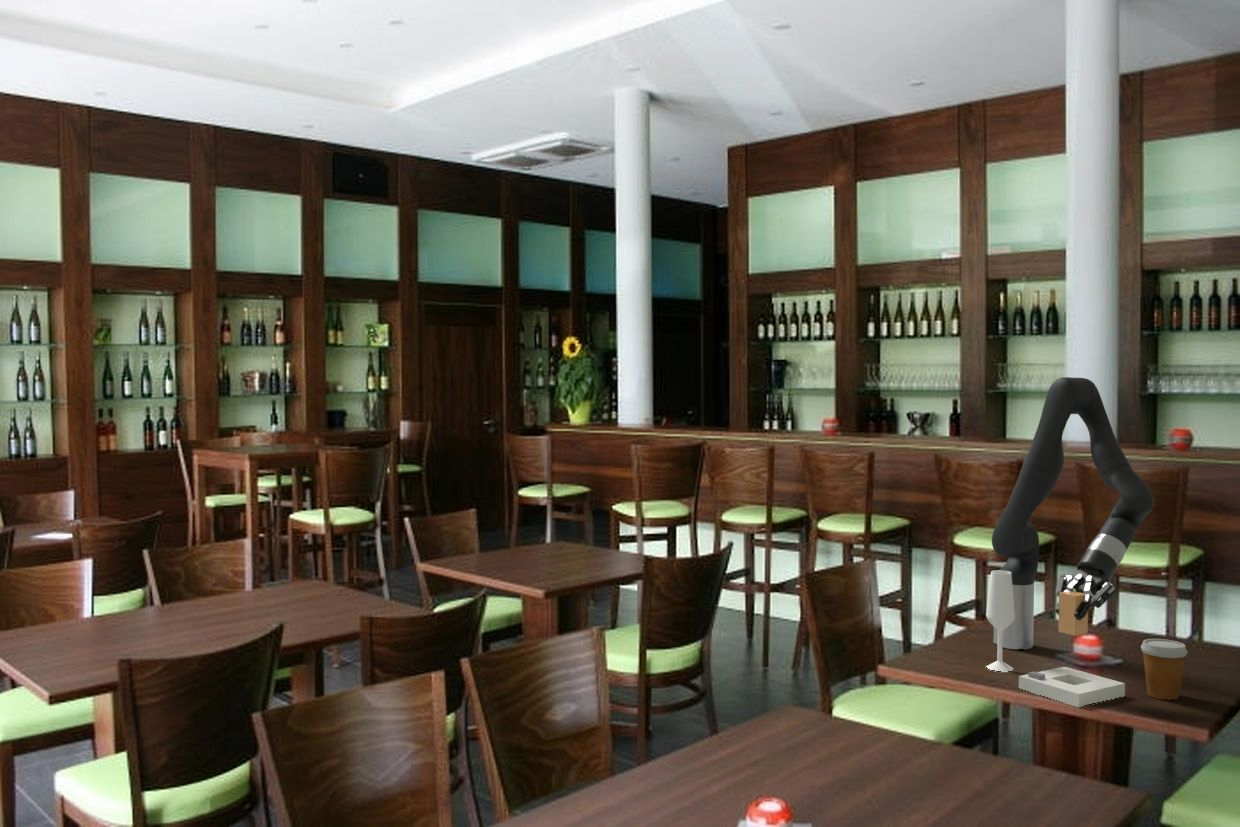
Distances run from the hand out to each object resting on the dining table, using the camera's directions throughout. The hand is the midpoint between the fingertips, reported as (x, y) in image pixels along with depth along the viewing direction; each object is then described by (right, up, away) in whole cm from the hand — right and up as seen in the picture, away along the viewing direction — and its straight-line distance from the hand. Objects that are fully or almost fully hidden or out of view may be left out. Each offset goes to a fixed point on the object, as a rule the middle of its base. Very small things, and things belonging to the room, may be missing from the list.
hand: (1067, 615), depth 246 cm
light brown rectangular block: (+2, -4, +1) cm, 5 cm away
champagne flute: (-8, -17, +22) cm, 29 cm away
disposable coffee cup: (+21, -18, -1) cm, 28 cm away
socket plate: (+1, -18, +2) cm, 18 cm away
